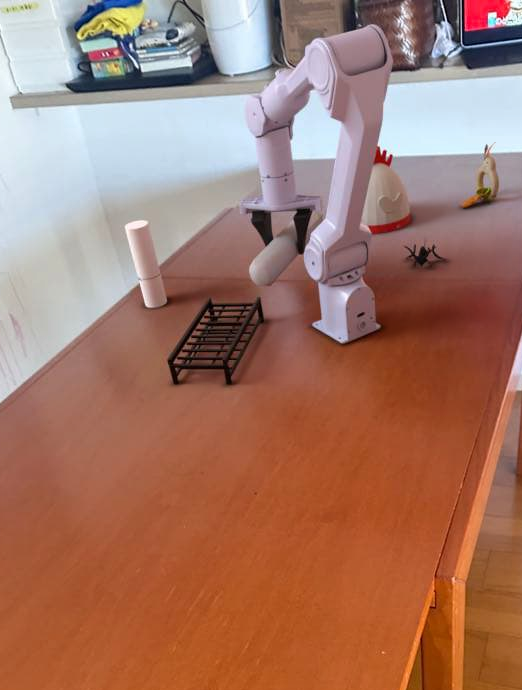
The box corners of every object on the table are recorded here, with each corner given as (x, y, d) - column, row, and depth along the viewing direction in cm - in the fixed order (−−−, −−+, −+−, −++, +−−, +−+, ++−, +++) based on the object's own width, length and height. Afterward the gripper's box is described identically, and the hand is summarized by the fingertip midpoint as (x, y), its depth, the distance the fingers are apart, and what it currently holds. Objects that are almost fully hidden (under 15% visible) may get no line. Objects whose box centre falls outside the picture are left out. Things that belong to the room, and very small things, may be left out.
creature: (408, 261, 150) (398, 269, 144) (409, 232, 148) (399, 239, 141) (448, 262, 148) (439, 270, 141) (450, 233, 145) (441, 240, 139)
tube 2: (274, 268, 126) (326, 212, 142) (245, 257, 126) (300, 202, 143) (269, 296, 130) (320, 238, 146) (241, 285, 130) (295, 229, 147)
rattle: (453, 199, 170) (454, 144, 162) (489, 193, 170) (492, 137, 163) (463, 210, 164) (465, 153, 157) (500, 204, 165) (503, 146, 157)
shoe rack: (264, 320, 136) (261, 296, 133) (231, 385, 121) (226, 359, 118) (212, 321, 139) (207, 297, 136) (172, 384, 123) (166, 359, 120)
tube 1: (171, 298, 148) (152, 220, 138) (159, 308, 146) (139, 229, 136) (152, 297, 150) (133, 219, 140) (141, 306, 147) (120, 228, 137)
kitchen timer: (335, 221, 169) (329, 148, 159) (388, 205, 172) (386, 132, 162) (366, 238, 159) (362, 162, 149) (422, 221, 162) (422, 145, 153)
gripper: (323, 162, 129) (330, 242, 138) (242, 167, 132) (254, 245, 141) (315, 176, 124) (323, 258, 133) (231, 181, 127) (244, 260, 136)
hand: (287, 252), depth 137 cm, fingers closed on tube 2, 5 cm apart
